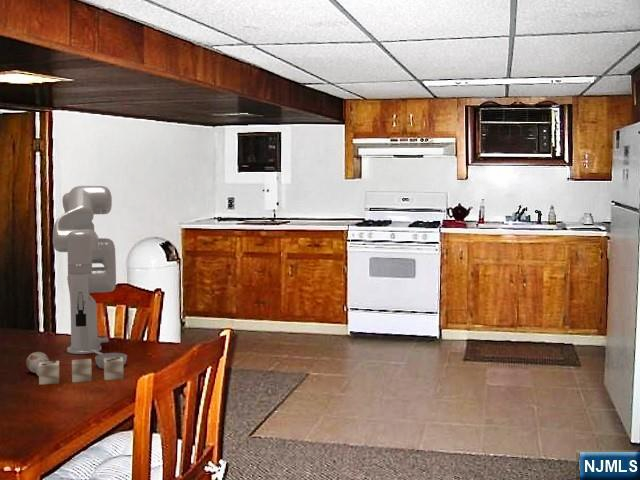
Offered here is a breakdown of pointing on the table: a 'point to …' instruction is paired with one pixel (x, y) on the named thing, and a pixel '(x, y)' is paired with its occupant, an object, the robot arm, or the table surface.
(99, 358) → the small pan
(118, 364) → the pip block
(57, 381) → the pip block
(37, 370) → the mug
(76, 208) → the robot arm
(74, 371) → the plain block
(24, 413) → the table surface
